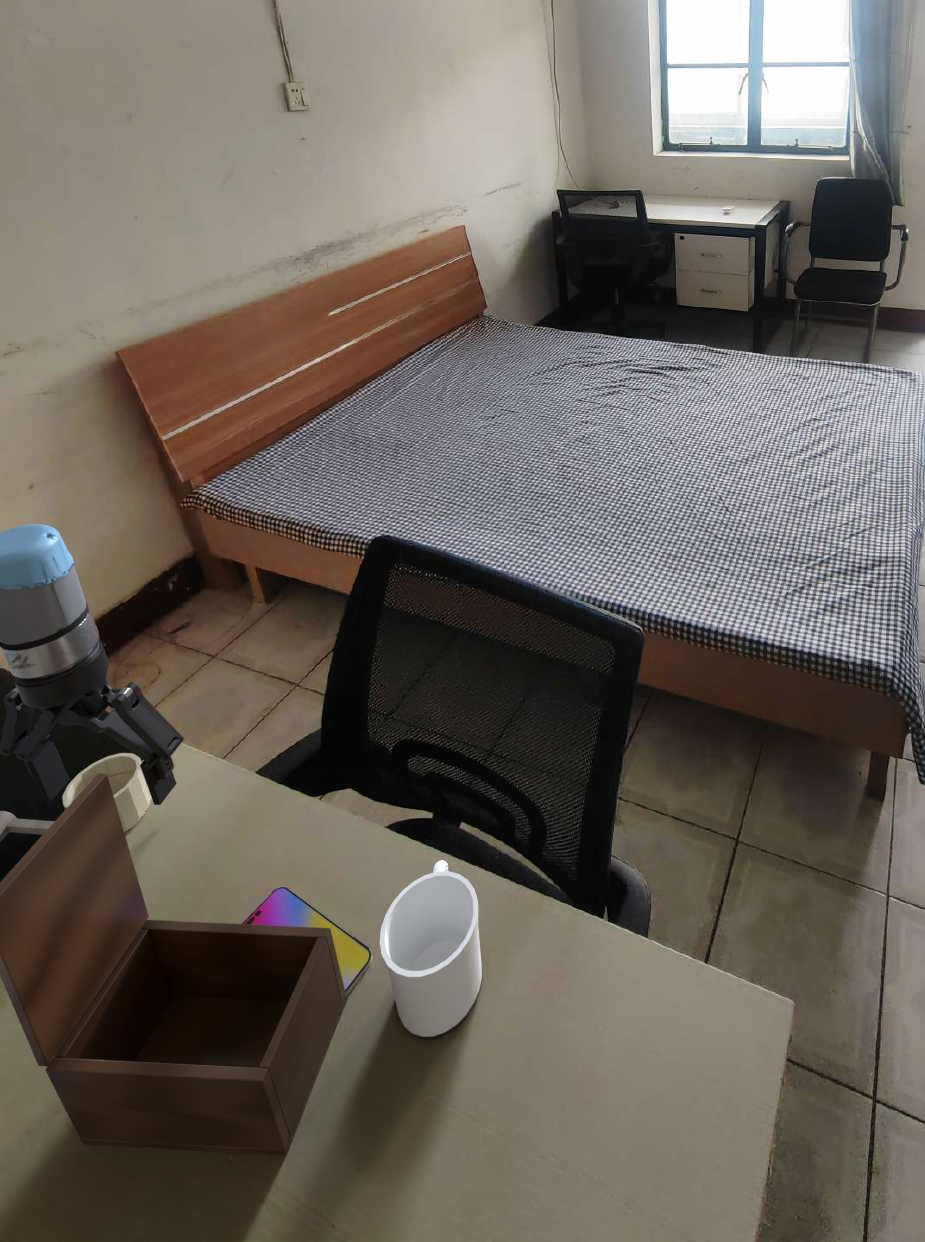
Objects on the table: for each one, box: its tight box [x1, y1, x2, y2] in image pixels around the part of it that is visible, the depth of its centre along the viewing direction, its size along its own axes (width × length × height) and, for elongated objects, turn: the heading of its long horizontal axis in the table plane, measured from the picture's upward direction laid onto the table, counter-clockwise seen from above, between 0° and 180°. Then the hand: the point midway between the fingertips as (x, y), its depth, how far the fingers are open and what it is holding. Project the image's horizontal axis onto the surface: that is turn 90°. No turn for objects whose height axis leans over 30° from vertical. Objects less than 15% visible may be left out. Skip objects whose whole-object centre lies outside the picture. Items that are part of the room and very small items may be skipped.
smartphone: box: [240, 885, 373, 996], centre depth 70 cm, size 7×1×15 cm
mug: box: [379, 860, 483, 1040], centre depth 67 cm, size 11×9×10 cm
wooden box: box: [45, 919, 348, 1156], centre depth 60 cm, size 18×11×11 cm, turn 88°
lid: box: [0, 773, 150, 1068], centre depth 56 cm, size 18×11×8 cm
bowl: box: [61, 752, 152, 833], centre depth 83 cm, size 7×7×6 cm
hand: (111, 792), depth 83 cm, fingers open, 13 cm apart
